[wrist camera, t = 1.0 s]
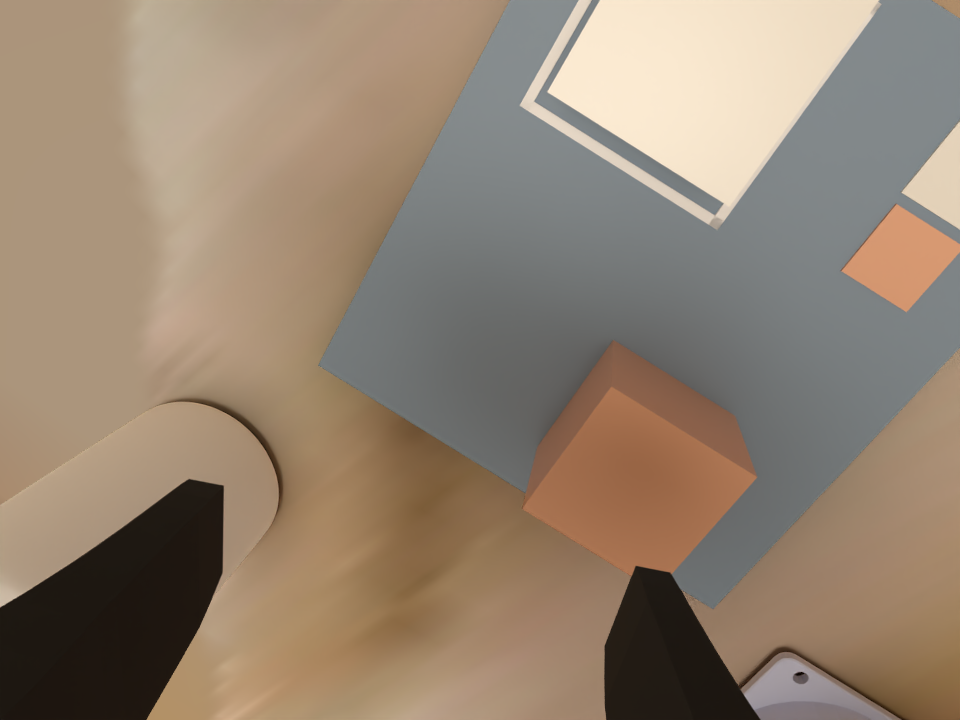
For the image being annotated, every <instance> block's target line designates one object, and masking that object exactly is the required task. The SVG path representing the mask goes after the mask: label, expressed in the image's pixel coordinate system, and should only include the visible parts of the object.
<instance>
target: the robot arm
mask: <svg viewBox="0 0 960 720" xmlns="http://www.w3.org/2000/svg"><path fill="white" fill-rule="evenodd" d="M223 522H224V486H223V485H218V484H213V483H208V482H203V481H198V480H192V479H188V480H186V481H185V482H183V483H182V484H180V485H179V486H177V487H176V488H175V489H173V490H172V491H171V492H169V493H168V494H167V495H165V496H164V497H163V498H161V499H160V500H159V501H157V502H156V503H155V504H153V505H152V506H151V507H149V508H148V509H147V510H145V511H144V512H143V513H141V514H140V515H139V516H137V517H136V518H134V519H133V520H132V521H130V522H129V523H128V524H126V525H125V526H123V527H122V528H121V529H119V530H118V531H117V532H115V533H114V534H112V535H111V536H109V537H108V538H107V539H105V540H104V541H102V542H101V543H99V544H98V545H97V546H95V547H94V548H92V549H91V550H89V551H88V552H87V553H85V554H84V555H82V556H81V557H79V558H78V559H76V560H75V561H73V562H72V563H70V564H69V565H67V566H66V567H64V568H63V569H61V570H59V571H58V572H56V573H55V574H53V575H52V576H50V577H48V578H47V579H45V580H44V581H42V582H41V583H39V584H38V585H36V586H34V587H33V588H31V589H30V590H28V591H27V592H25V593H23V594H22V595H20V596H18V597H17V598H15V599H13V600H12V601H10V602H8V603H6V604H5V605H3V606H1V607H0V720H146V719H147V718H148V716H149V714H150V712H151V711H152V709H153V707H154V706H155V704H156V702H157V700H158V699H159V697H160V695H161V693H162V692H163V690H164V688H165V686H166V685H167V683H168V681H169V679H170V678H171V676H172V675H173V673H174V671H175V669H176V668H177V666H178V664H179V662H180V661H181V659H182V657H183V655H184V654H185V651H186V650H187V648H188V647H189V645H190V643H191V641H192V640H193V638H194V636H195V634H196V633H197V631H198V629H199V627H200V625H201V623H202V620H203V618H204V616H205V614H206V611H207V609H208V607H209V604H210V602H211V600H212V597H213V595H214V593H215V590H216V588H217V585H218V583H219V581H220V578H221V576H222V573H223ZM797 672H804V673H805V674H803V675H801V676H796V675H794V674H795V673H797ZM604 680H605V711H606V720H901V719H899V718H898V717H896V716H895V715H893V714H891V713H890V712H888V711H887V710H885V709H883V708H882V707H880V706H878V705H877V704H875V703H874V702H872V701H870V700H869V699H867V698H865V697H864V696H862V695H861V694H859V693H857V692H856V691H854V690H853V689H851V688H849V687H848V686H846V685H844V684H843V683H841V682H840V681H838V680H836V679H835V678H833V677H831V676H830V675H828V674H827V673H825V672H823V671H822V670H820V669H819V668H817V667H815V666H814V665H812V664H810V663H809V662H807V661H806V660H804V659H802V658H801V657H799V656H797V655H796V654H793V653H791V652H782V653H779V654H777V655H776V656H774V657H773V658H772V659H771V660H770V661H769V662H768V663H767V664H766V665H765V666H764V667H763V668H762V669H761V670H760V671H759V672H758V673H757V674H756V675H755V676H754V677H753V678H752V679H751V680H750V681H749V682H748V683H747V684H745V685H744V686H743V687H742V688H741V689H740V688H739V686H738V685H737V683H736V682H735V680H734V678H733V677H732V675H731V674H730V672H729V671H728V669H727V667H726V666H725V664H724V663H723V661H722V659H721V658H720V656H719V655H718V653H717V651H716V650H715V648H714V646H713V645H712V643H711V641H710V640H709V638H708V636H707V634H706V633H705V631H704V629H703V628H702V626H701V624H700V623H699V621H698V619H697V617H696V616H695V614H694V612H693V610H692V609H691V607H690V605H689V603H688V602H687V600H686V598H685V596H684V595H683V593H682V591H681V589H680V588H679V586H678V584H677V582H676V581H675V579H674V577H673V576H672V574H671V573H670V572H665V571H660V570H655V569H650V568H645V567H640V566H635V569H634V571H633V574H632V577H631V579H630V582H629V584H628V587H627V590H626V592H625V595H624V597H623V600H622V603H621V605H620V608H619V610H618V613H617V616H616V618H615V621H614V623H613V626H612V628H611V631H610V634H609V636H608V639H607V641H606V644H605V675H604Z"/></svg>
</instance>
